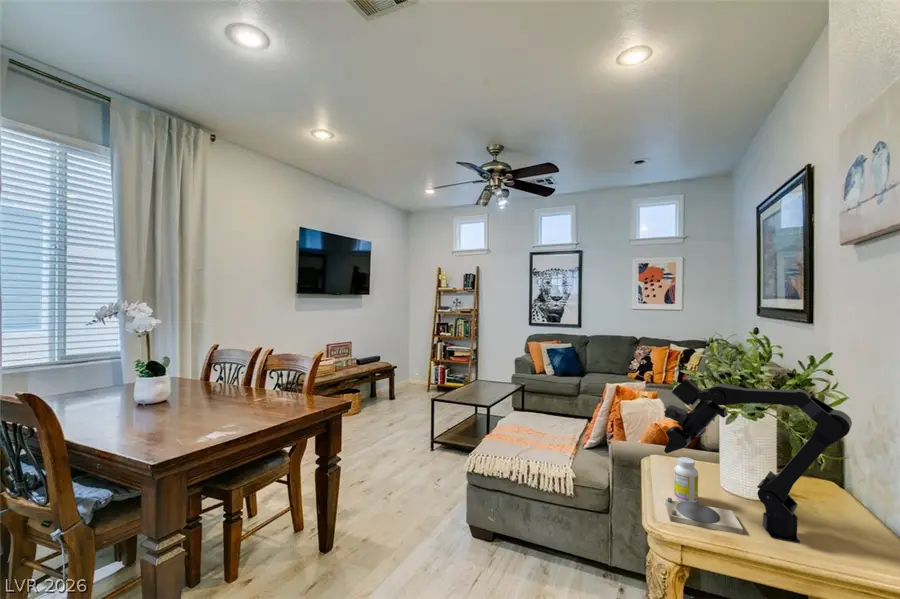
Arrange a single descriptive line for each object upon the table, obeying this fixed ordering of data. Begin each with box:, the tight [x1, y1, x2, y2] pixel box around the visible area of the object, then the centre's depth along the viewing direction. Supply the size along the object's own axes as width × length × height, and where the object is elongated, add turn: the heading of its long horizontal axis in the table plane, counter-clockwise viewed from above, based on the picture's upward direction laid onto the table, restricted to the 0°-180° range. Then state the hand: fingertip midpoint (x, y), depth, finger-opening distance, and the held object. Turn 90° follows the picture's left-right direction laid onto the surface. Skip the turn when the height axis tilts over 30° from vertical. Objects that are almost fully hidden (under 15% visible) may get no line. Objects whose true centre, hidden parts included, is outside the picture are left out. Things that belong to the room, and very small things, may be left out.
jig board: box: [664, 497, 744, 535], centre depth 119 cm, size 18×11×2 cm, turn 70°
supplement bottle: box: [673, 456, 699, 503], centre depth 130 cm, size 7×7×13 cm
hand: (670, 448), depth 133 cm, fingers open, 9 cm apart
